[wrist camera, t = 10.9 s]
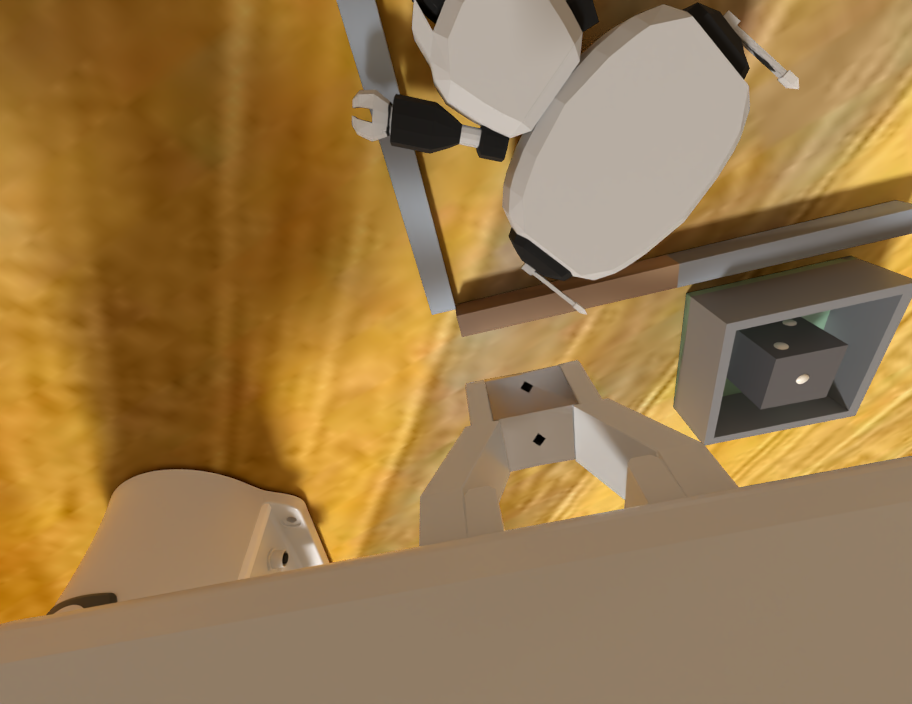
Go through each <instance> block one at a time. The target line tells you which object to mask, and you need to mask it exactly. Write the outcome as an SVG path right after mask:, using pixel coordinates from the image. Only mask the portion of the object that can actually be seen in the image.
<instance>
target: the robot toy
mask: <svg viewBox="0 0 912 704" xmlns="http://www.w3.org/2000/svg"><path fill="white" fill-rule="evenodd" d="M412 2H413V3H414V5H413V20H412V31H413V35H414V39H415V42H416V44H417V46H418V47H419V49H420V51H421V52H422V54H423V56H424V58H425V59H426V61H427V63H428V65H429V66H430V68H431V72H432V77H433V82H434V86H435V88H436V89H437V91H438V92H439V94H440V96H441V97H442V99H443V100H444V102H445V104H446V105H448V106H449V107H451V108H452V109H454V110H455V111H457V112H458V113H460V114H461V115H463V116H464V117H466V118H467V119H469V120H471V121H472V122H474V123H476V124H478V125H480V126H481V127H480V128H476V127H471V126H466V125H462V124H461V123H460V122H459V121H458V120H457V119H456V118H455V117H454V116H452V115H451V114H450V113H449V112H448V111H446V110H445V109H444V108H443V107H442V106H440V105H439V104H438V103H436V102H432V101H427V100H422V99H418V98H413V97H409V96H404V95H400V94H396V95H395V96H394V100H393V104H392V103H391V102H390V101H389V100H388V99H387V98H385V97H384V96H383V95H382V94H381V93H379V92H378V91H377V90H360V91H359V92H358V93H357V94H356V95H355V97H354V98H353V106H352V108H360V107H361V108H368V109H373V115H372V122H368V121H365V120H361V119H358V118H357V117H355V116H352V126H353V128H354V129H355V131H356V133H357V135H359V136H361V137H363V138H366V139H368V140H370V141H372V142H373V141H376V140H379V139H382V138H385V137H388V136H390V143H391V146H395V147H400V148H405V149H410V150H415V151H420V152H425V153H433V152H437V151H440V150H444V149H447V148H450V147H453V146H455V145H458V144H461V145H466V146H470V147H475V148H476V150H477V153H478V156H479V158H484V159H489V160H494V161H499V162H502V161H503V160H504V158H505V154H506V151H507V146H508V142H509V138H512V137H515V136H518V135H521V134H522V136H521V138H520V140H519V142H518V144H517V146H516V148H515V151H514V154H513V156H512V159H511V162H510V164H509V167H508V169H507V173H506V177H505V181H504V187H503V206H502V207H503V209H504V211H505V213H506V215H507V218H508V220H509V222H510V224H511V226H512V228H511V231H510V234H509V238H510V240H511V242H512V244H513V246H514V248H515V250H516V252H517V253H518V255H519V256H520V258H521V260H522V261H524V262H525V263H524V264H523V265H522V267H521V268H522V269H523V270H524V271H525V272H527V273H528V274H529V275H532V274H533V275H534V276H535V277H536V278H538V279H539V280H540V281H542V282H543V283H544V284H545V285H547V286H548V287H549V288H550V289H552V290H553V291H554V292H556V293H557V294H558V295H559V296H561V297H562V298H563V299H564V300H566V301H567V302H568V303H570V304H571V305H572V306H573V308H574V309H576V310H577V311H578V312H580V313H583V314H587V313H586V312H585V310H584V308H583V307H582V306H581V305H580V304H578V303H577V302H574V301H573V300H572V299H570V298H569V297H568V296H567V295H565V294H564V293H563V292H562V291H560V290H559V289H558V288H556V287H555V286H554V285H553V284H551V283H550V282H549V281H548V280H546V279H545V278H544V277H543V276H545V277H550V278H554V279H558V280H562V281H565V280H567V279H569V278H570V277H572V276H575V277H580V278H585V279H590V280H596V279H600V278H603V277H606V276H609V275H612V274H615V273H617V272H618V271H620V270H622V269H624V268H626V267H627V266H629V265H630V264H632V263H633V262H635V261H636V260H638V259H639V258H640V257H642V256H643V255H645V254H646V253H647V252H649V251H650V250H651V249H652V248H653V247H655V246H656V245H657V244H658V243H659V242H661V241H662V240H663V239H664V238H665V237H667V236H668V235H669V234H670V233H671V232H673V231H674V230H675V229H676V228H677V227H679V226H680V225H681V224H682V223H683V222H684V221H685V220H686V219H687V217H688V216H689V215H690V213H691V212H692V211H693V209H694V208H695V207H696V205H697V204H698V203H699V201H700V200H701V199H702V197H703V196H704V195H705V194H706V192H707V191H708V190H709V188H710V187H711V186H712V184H713V183H714V182H715V180H716V179H717V177H718V176H719V174H720V173H721V171H722V169H723V168H724V166H725V165H726V163H727V161H728V160H729V158H730V157H731V155H732V154H733V152H734V150H735V148H736V146H737V144H738V142H739V140H740V138H741V135H742V132H743V129H744V125H745V122H746V119H747V116H748V113H749V110H750V101H749V86H748V84H747V83H746V82H745V81H744V79H745V77H746V75H747V73H748V71H749V69H750V68H749V65H748V62H747V59H746V57H745V54H744V50H743V46H744V47H745V48H746V49H747V50H748V51H749V52H751V53H752V54H753V55H754V56H755V57H756V58H757V59H758V60H759V61H760V62H762V63H763V64H764V65H765V66H766V67H767V68H768V69H769V70H770V71H771V72H772V73H774V74H775V75H776V76H777V77H778V79H777V80H778V81H779V82H780V83H781V84H782V85H784V86H785V87H786V88H792V89H799V80H798V77H796V76H795V75H794V74H793V73H792V72H791V71H790V70H789V71H787V70H785V69H784V68H783V67H782V66H781V65H780V64H779V63H778V62H777V61H776V60H775V59H773V58H772V57H771V56H770V55H769V54H768V53H767V52H766V51H765V50H764V49H763V48H761V47H760V46H759V45H758V44H757V43H756V42H755V41H754V40H753V39H752V38H751V37H749V36H748V35H747V34H746V33H745V32H744V31H743V30H742V29H741V28H740V27H739V26H737V25H738V24H739V22H740V20H739V19H738V18H737V17H735V16H734V15H733V14H732V13H731V12H730V11H727V12H726V13H725V14H724V15H722V14H721V13H720V12H719V11H716V10H714V9H711V8H709V7H707V6H704V5H702V4H700V3H696V4H694V5H692V6H689V7H687V8H685V9H683V10H680V9H677V8H674V7H671V6H668V5H664V4H662V5H660V6H657V7H655V8H653V9H650V10H648V11H645V12H643V13H640V14H638V15H635V16H633V17H632V18H630V19H628V20H626V21H624V22H623V23H621V24H619V25H617V26H615V27H614V28H612V29H611V30H610V31H608V32H607V33H605V34H604V35H602V36H601V37H600V38H599V39H598V40H596V41H595V42H594V43H593V44H592V45H591V46H590V47H589V48H587V49H586V50H585V51H584V52H583V53H582V54H581V44H582V34H583V32H584V31H586V30H587V29H589V28H590V27H592V26H593V25H595V24H596V23H598V22H599V21H598V17H597V14H596V10H595V7H594V3H593V0H412ZM424 15H425V16H426V17H428V18H429V19H430V20H431V21H432V22H434V23H435V24H436V25H435V27H434V30H433V31H432V29H431V27H430V25H429V23H428V22H427V20H426V18H425V16H424ZM580 54H581V55H580ZM535 270H536V271H537V272H539V273H540V274H541V275H543V276H541V275H540V274H539V273H537V272H536V271H535Z"/></svg>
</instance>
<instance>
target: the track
mask: <svg viewBox="0 0 912 704" xmlns="http://www.w3.org/2000/svg"><path fill="white" fill-rule="evenodd" d="M337 4H338V7H339V10H340V13H341V17H342V20H343V23H344V27H345V30H346V33H347V36H348V40H349V43H350V46H351V50H352V53H353V56H354V60H355V63H356V66H357V69H358V73H359V76H360V79H361V83H362V86H363V89H364V90H377V91H378V92H379V93H381V94H382V95H383V96H384V97H385V98H387V99H388V100H389V101H390V102H391V103H392V104H393V100H394V96H395V95H396V94H400V91H399V88H398V84H397V80H396V76H395V72H394V68H393V65H392V61H391V57H390V53H389V49H388V45H387V42H386V38H385V34H384V30H383V26H382V22H381V19H380V15H379V11H378V7H377V3H376V0H337ZM370 112H371V115H373V109H370ZM379 142H380V145H381V148H382V152H383V155H384V158H385V162H386V165H387V168H388V171H389V175H390V178H391V181H392V185H393V188H394V191H395V194H396V198H397V201H398V204H399V208H400V211H401V214H402V218H403V221H404V224H405V227H406V231H407V234H408V237H409V241H410V244H411V247H412V250H413V254H414V257H415V260H416V264H417V267H418V270H419V274H420V277H421V280H422V283H423V287H424V290H425V293H426V297H427V300H428V303H429V306H430V310H431V313H432V315H433V314H437V313H442V312H446V311H450V310H454V309H456V315H457V319H458V323H459V327H460V331H461V335H462V337H464V336H469V335H473V334H478V333H482V332H486V331H491V330H495V329H499V328H504V327H508V326H512V325H517V324H521V323H525V322H530V321H534V320H538V319H543V318H547V317H551V316H556V315H560V314H564V313H569V312H573V311H577V310H576V309H574V308H573V306H572V305H571V304H570V303H568V302H567V301H566V300H564V299H563V298H562V297H561V296H559V295H558V294H557V293H556V292H554V291H553V290H552V289H550V288H549V287H548V286H547V285H545V284H541V285H536V286H532V287H528V288H524V289H520V290H515V291H511V292H507V293H503V294H499V295H494V296H490V297H486V298H482V299H477V300H473V301H469V302H465V303H461V304H456V305H455V302H454V298H453V295H452V291H451V287H450V283H449V279H448V275H447V272H446V268H445V264H444V260H443V256H442V252H441V249H440V245H439V241H438V237H437V233H436V229H435V226H434V222H433V218H432V214H431V210H430V206H429V203H428V199H427V195H426V191H425V187H424V183H423V180H422V176H421V172H420V168H419V164H418V160H417V157H416V153H415V150H410V149H405V148H400V147H395V146H391V143H390V136H388V137H385V138H382V139H379ZM907 234H912V204H911V203H906V202H902V201H897V200H895V201H891V202H886V203H882V204H878V205H874V206H870V207H865V208H861V209H857V210H853V211H848V212H844V213H840V214H836V215H832V216H827V217H823V218H819V219H815V220H810V221H806V222H802V223H798V224H794V225H789V226H785V227H781V228H777V229H773V230H768V231H764V232H760V233H756V234H751V235H747V236H743V237H739V238H735V239H730V240H726V241H722V242H718V243H714V244H709V245H705V246H701V247H697V248H692V249H688V250H684V251H680V252H676V253H671V254H667V255H663V256H659V257H655V258H650V259H646V260H642V261H638V262H633V263H632V264H630V265H629V266H627V267H626V268H624V269H622V270H620V271H618V272H617V273H615V274H612V275H609V276H606V277H603V278H600V279H596V280H590V279H585V278H580V277H575V276H574V277H570V278H569V279H567V280H565V281H562V280H558V281H553V282H550V283H551V284H553V285H554V286H555V287H556V288H558V289H559V290H560V291H562V292H563V293H564V294H565V295H567V296H568V297H569V298H570V299H572V300H573V301H574V302H577V303H578V304H580V305H581V306H582V307H583V308H584V309H586V308H590V307H595V306H599V305H603V304H608V303H612V302H616V301H621V300H625V299H630V298H634V297H638V296H643V295H647V294H651V293H656V292H660V291H664V290H669V289H673V288H677V287H682V286H686V285H690V284H695V283H699V282H703V281H708V280H712V279H716V278H721V277H725V276H729V275H734V274H738V273H742V272H747V271H751V270H755V269H760V268H764V267H768V266H773V265H777V264H782V263H786V262H790V261H795V260H799V259H803V258H808V257H812V256H816V255H821V254H825V253H829V252H834V251H838V250H842V249H847V248H851V247H855V246H860V245H864V244H868V243H873V242H877V241H881V240H886V239H890V238H894V237H899V236H903V235H907Z"/></svg>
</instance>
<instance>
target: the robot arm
mask: <svg viewBox="0 0 912 704" xmlns="http://www.w3.org/2000/svg"><path fill="white" fill-rule="evenodd" d="M484 380H485V382H484ZM484 380H480V381H475V382H470V383H466V384H465V389H466V396H467V403H468V410H469V417H470V424H471V426H467V427H465V428H464V430H463V431H462V433H461V434H460V436H459V438H458V439H457V441H456V442H455V444H454V445H453V447H452V448H451V450H450V451H449V453H448V455H447V456H446V458H445V459H444V461H443V462H442V464H441V465H440V467H439V468H438V470H437V472H436V473H435V475H434V476H433V478H432V479H431V481H430V482H429V484H428V485H427V487H426V489H425V490H424V492H423V493H422V495H421V496H420V542H419V547H414V548H409V549H403V550H398V551H392V552H387V553H381V554H376V555H371V556H365V557H360V558H354V559H349V560H343V561H338V562H333V563H329V560H328V558H327V556H326V553H325V551H324V548H323V546H322V543H321V541H320V538H319V536H318V534H317V531H316V529H315V526H314V524H313V521H312V519H311V517H310V514H309V512H308V509H307V507H306V504H305V502H304V501H303V500H302V499H300V498H298V497H296V496H293V495H289V494H283V493H277V492H271V491H265V490H262V489H259V488H256V487H254V486H251V485H249V484H246V483H244V482H242V481H239V480H236V479H233V478H230V477H227V476H223V475H220V474H215V473H211V472H205V471H198V470H186V469H168V470H158V471H152V472H147V473H143V474H140V475H137V476H135V477H132V478H130V479H128V480H126V481H125V482H123V483H122V484H121V485H119V486H118V487H117V488H116V490H115V491H114V492H113V494H112V496H111V499H110V502H109V505H108V508H107V510H106V513H105V515H104V518H103V520H102V522H101V524H100V527H99V529H98V531H97V533H96V535H95V537H94V539H93V541H92V543H91V545H90V547H89V548H88V550H87V552H86V554H85V556H84V558H83V559H82V561H81V563H80V565H79V567H78V568H77V570H76V572H75V573H74V575H73V577H72V578H71V580H70V582H69V583H68V585H67V587H66V588H65V590H64V591H63V593H62V595H61V596H60V598H59V599H58V601H57V602H56V604H55V606H54V607H53V608H52V609H51V610H50V611H49V612H48V613H47V615H45V616H39V617H32V618H26V619H20V620H15V621H11V622H7V623H3V624H0V704H912V456H908V457H903V458H897V459H892V460H886V461H881V462H875V463H870V464H864V465H859V466H854V467H848V468H843V469H837V470H832V471H826V472H821V473H815V474H810V475H805V476H799V477H794V478H788V479H783V480H777V481H772V482H766V483H761V484H756V485H750V486H745V487H738V486H737V485H736V483H735V482H734V481H733V480H732V479H731V477H730V476H729V475H728V474H727V472H726V471H725V470H724V469H723V468H722V466H721V465H720V464H719V463H718V461H717V460H716V459H715V458H714V456H713V455H712V454H711V453H710V452H709V450H708V449H707V448H706V447H705V445H704V444H703V443H701V442H699V441H697V440H695V439H693V438H690V437H688V436H686V435H684V434H682V433H680V432H678V431H676V430H674V429H672V428H669V427H667V426H665V425H663V424H661V423H659V422H657V421H655V420H653V419H651V418H648V417H646V416H644V415H642V414H640V413H638V412H636V411H634V410H632V409H630V408H627V407H625V406H623V405H621V404H619V403H617V402H615V401H613V400H611V399H602V398H601V396H600V395H599V393H598V391H597V390H596V388H595V386H594V385H593V383H592V382H591V380H590V378H589V377H588V375H587V373H586V372H585V370H584V368H583V367H582V365H581V363H580V362H579V361H577V360H576V361H571V362H567V363H563V364H559V365H557V366H552V367H547V368H543V369H538V370H533V371H528V372H524V373H517V374H512V375H506V376H501V377H495V378H490V379H484ZM485 385H486V386H485ZM486 390H487V391H486ZM574 459H576V461H577V462H578V463H579V464H581V465H582V466H583V467H584V468H585V469H587V470H588V471H589V472H590V473H592V474H593V475H594V476H595V477H597V478H598V479H599V480H600V481H602V482H603V483H604V484H605V485H607V486H608V487H609V488H610V489H612V490H613V491H614V492H615V493H617V494H618V495H619V496H620V497H622V498H623V499H624V500H625V508H624V509H620V510H615V511H609V512H604V513H598V514H593V515H588V516H582V517H577V518H571V519H566V520H560V521H555V522H550V523H544V524H539V525H533V526H528V527H522V528H517V529H512V530H506V531H505V528H504V524H503V519H502V515H501V511H500V506H499V501H500V499H501V496H502V494H503V491H504V488H505V486H506V483H507V480H508V478H509V475H510V472H511V471H516V470H520V469H525V468H530V467H534V466H539V465H544V464H550V463H556V462H562V461H568V460H574Z"/></svg>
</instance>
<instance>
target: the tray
mask: <svg viewBox="0 0 912 704" xmlns="http://www.w3.org/2000/svg"><path fill="white" fill-rule="evenodd" d="M911 298H912V279H911V278H909V277H906V276H903V275H901V274H898V273H895V272H893V271H890V270H887V269H885V268H882V267H879V266H877V265H874V264H871V263H869V262H866V261H863V260H861V259H858V258H855V257H853V256H848V257H843V258H839V259H835V260H830V261H826V262H822V263H817V264H813V265H808V266H804V267H800V268H795V269H791V270H787V271H782V272H778V273H773V274H769V275H765V276H760V277H756V278H752V279H747V280H743V281H738V282H734V283H730V284H725V285H721V286H717V287H712V288H708V289H703V290H699V291H695V292H690V293H686V301H685V310H684V318H683V327H682V336H681V344H680V353H679V362H678V371H677V379H676V388H675V397H674V405H673V407H674V409H675V410H676V411H677V412H678V414H679V415H680V416H681V417H682V419H683V420H684V421H685V422H686V424H687V425H688V426H689V428H690V429H691V430H692V431H693V433H694V434H695V435H696V436H697V438H698V439H699V440H700V441H701V443H703V444H704V445H709V444H714V443H719V442H724V441H730V440H735V439H740V438H745V437H750V436H755V435H760V434H765V433H770V432H775V431H780V430H785V429H790V428H795V427H800V426H805V425H810V424H815V423H820V422H825V421H830V420H835V419H841V418H846V417H851V416H855V415H856V413H857V411H858V409H859V406H860V404H861V402H862V400H863V398H864V396H865V394H866V392H867V390H868V388H869V386H870V384H871V381H872V379H873V377H874V375H875V373H876V371H877V369H878V367H879V365H880V363H881V361H882V359H883V356H884V354H885V352H886V350H887V348H888V346H889V344H890V342H891V340H892V338H893V336H894V334H895V331H896V329H897V327H898V325H899V323H900V321H901V319H902V317H903V315H904V313H905V311H906V309H907V307H908V304H909V302H910V300H911ZM796 317H802V318H804V319H806V320H807V321H809V322H811V323H812V324H814V325H816V326H817V327H819V328H821V329H823V330H824V331H826V332H828V333H829V334H831V335H833V336H834V337H836V338H838V339H840V340H841V341H843V342H845V343H846V344H848V348H847V350H846V352H845V355H844V357H843V359H842V361H841V364H840V366H839V368H838V371H837V373H836V375H835V378H834V380H833V382H832V385H831V387H830V389H829V392H828V394H827V396H826V397H824V398H819V399H813V400H808V401H803V402H798V403H792V404H787V405H782V406H777V407H771V408H766V409H761V410H760V409H759V408H758V407H757V406H756V405H755V404H754V403H753V402H752V401H751V400H750V399H749V398H748V397H747V396H746V395H744V394H743V393H742V392H741V391H740V390H739V389H738V388H737V387H736V386H735V385H734V384H733V383H732V382H731V381H730V380H729V379H727V378H726V377H727V372H728V367H729V362H730V358H731V353H732V348H733V343H734V338H735V334H736V331H737V330H742V329H746V328H751V327H755V326H760V325H764V324H769V323H774V322H778V321H783V320H787V319H792V318H796Z"/></svg>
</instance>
